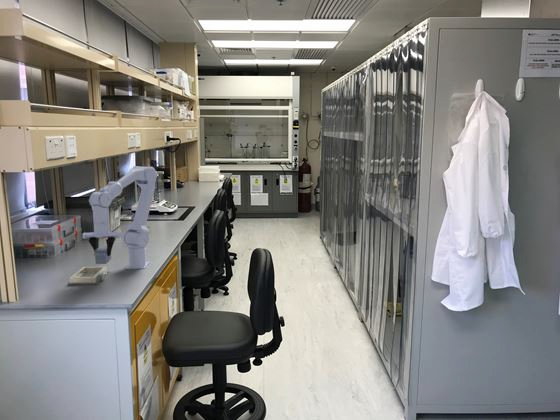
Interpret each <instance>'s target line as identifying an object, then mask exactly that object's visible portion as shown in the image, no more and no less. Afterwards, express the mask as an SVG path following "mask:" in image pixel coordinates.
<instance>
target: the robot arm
mask: <svg viewBox="0 0 560 420" xmlns="http://www.w3.org/2000/svg"><path fill="white" fill-rule="evenodd" d="M157 177H158V173H157V171H156V169H155V167H153V166H138V165H134V166H133V167H132V168H130V169H129V171H128V172H127V173H126V174H124V175H123V176H122V177H121V178H120V179H119V180H117V181H109V182H108V183H107V185H105V186H104V187H101V188H100V189H99V191H94V192H92V193H91V194H90V196H89V199H88V202H89V205H90V206H91V210H92V217H93V231H91V232H83V233H82V239H88V242H89V244H90V246H91V247H92V249H93V252H94V253H95V250H96V249H97V248H99V247H100V246H99V245H100V243H99V241H100V239H105V242H106V243H105V244H106V246H107V254H108V256H110V255H111V256H112V250H113V246H114V243H115V241H116V239H122V238H123V242H124V244H125V245H126V247H127V256H128V265H127V266H126V267H125V269H126V270H127V269H128V270H135V269H137V270H139V269H141V270H142V269H144V270H145V269H146V268H147V266H148V265H149V264H150V261H148V256H147V255H148V254H147V253H148V251H147V248H146V247H147V246H148V243H149V240H150V238H149V237H150V235H149V234H150V230H149V229H148V228H147V227H146V225H147V221H148V218H149V215H150V211H151V206H152V202H153V197H154V194H155V190H156V182H157ZM134 182H135V183H136V184H137V185H138V187H140V189H141V190H140V194H139V198H138V202H137V207H136V210H135V212H134V213H135V214H134V218H133V221H132V224H130V225H129V226H127V228H126V231H125V232H124V234H123V237H122V232H119V231H118V232H115V231H110V229H111V228H110V212H109V206H111V204H112V201H113V200H114V199H115V198H117V197H118V196H119V195H121V194H122V193H123V189H125V187H127V186H130V184H133V183H134Z"/></svg>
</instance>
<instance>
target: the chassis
mask: <svg viewBox="0 0 560 420" xmlns="http://www.w3.org/2000/svg"><path fill="white" fill-rule="evenodd" d="M109 274H110V270H108V266H83V267H81V268H80V269H79V270H78V271H76V272H75V273H74V274H72V275H71V276H70V277H69V282H67V285H68V286H69V285H70V286H71V285H72V286H73V285H78V286H79V285H98V284H99V283H101V281H102V280H104V278H105V277H106V276H108V275H109Z"/></svg>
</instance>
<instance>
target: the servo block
mask: <svg viewBox="0 0 560 420" xmlns="http://www.w3.org/2000/svg"><path fill="white" fill-rule="evenodd" d="M93 256H94V258H95V265H107V264H108V263H109V262H110V261H111V260H112V254H111V255H110V256H108V254H107V245H100V246H99V248H97V249H96V250H95V252H94V253H93Z"/></svg>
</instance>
